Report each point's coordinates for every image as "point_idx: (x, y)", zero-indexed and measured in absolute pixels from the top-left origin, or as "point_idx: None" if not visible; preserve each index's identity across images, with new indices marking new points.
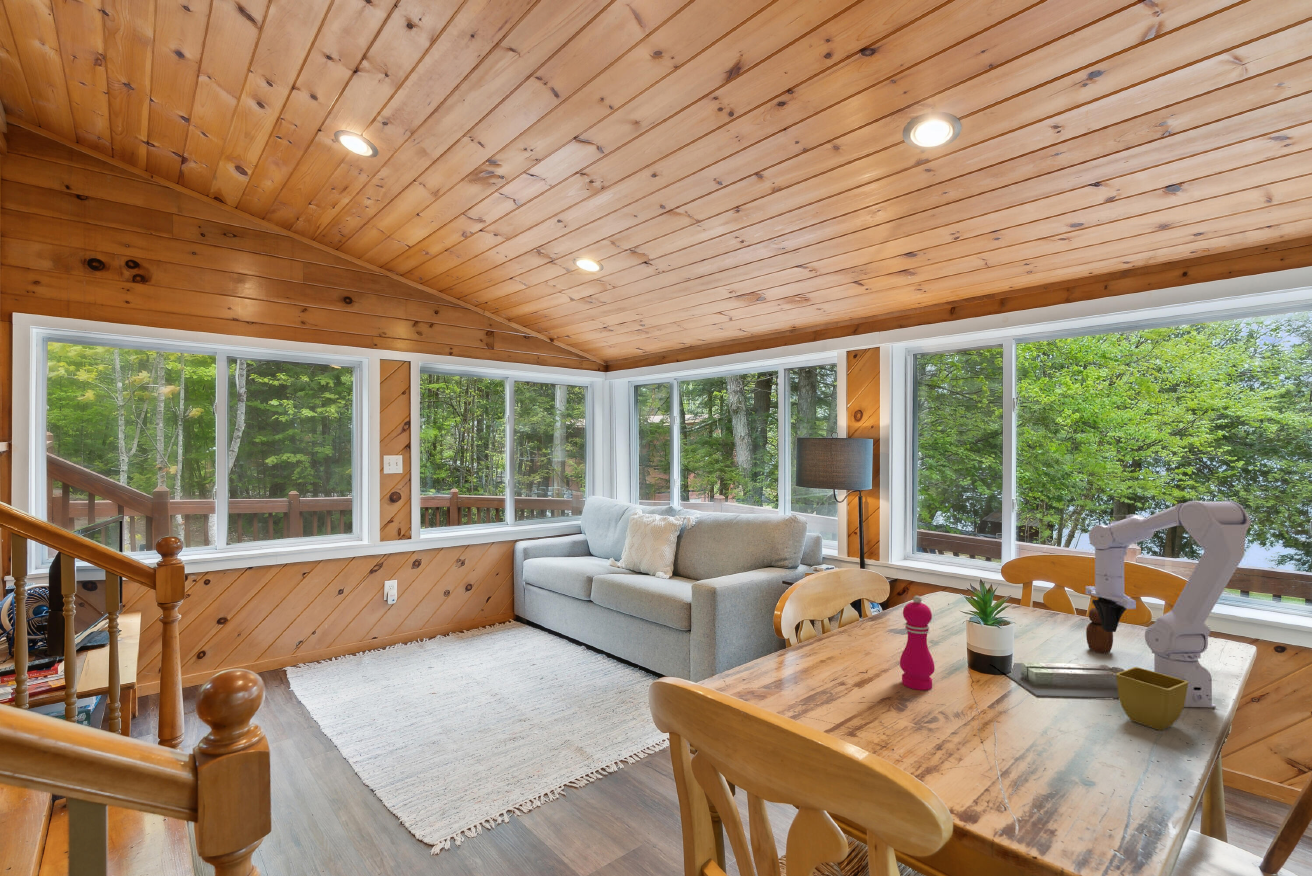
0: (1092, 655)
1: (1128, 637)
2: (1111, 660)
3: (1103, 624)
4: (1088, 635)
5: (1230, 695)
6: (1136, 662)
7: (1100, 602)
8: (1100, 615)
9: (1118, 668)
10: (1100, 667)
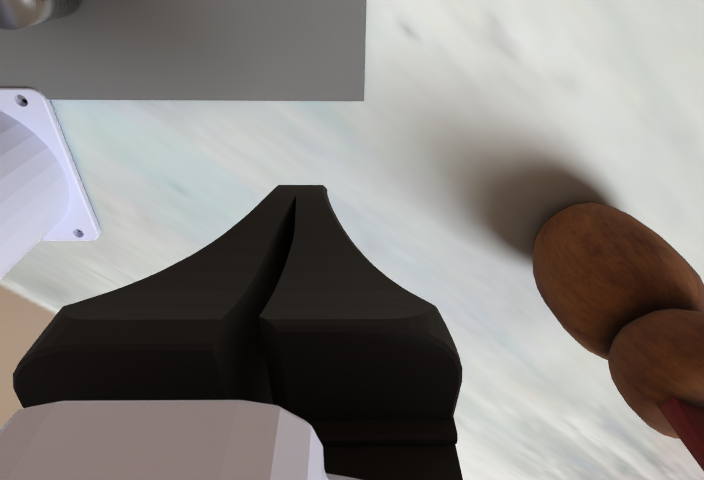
0: (533, 169)
1: None
2: (456, 209)
3: (299, 202)
4: (626, 228)
5: None
6: (426, 286)
7: (145, 347)
8: (318, 239)
9: (13, 3)
10: None
